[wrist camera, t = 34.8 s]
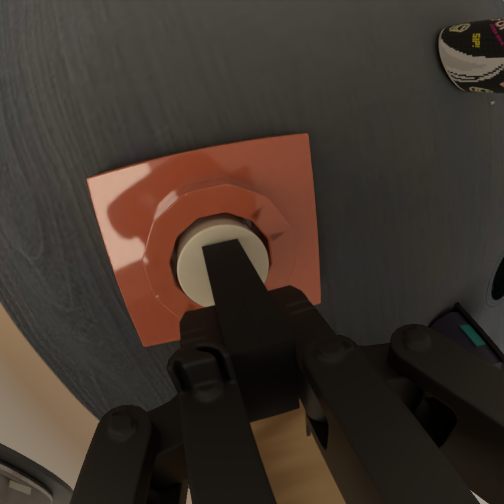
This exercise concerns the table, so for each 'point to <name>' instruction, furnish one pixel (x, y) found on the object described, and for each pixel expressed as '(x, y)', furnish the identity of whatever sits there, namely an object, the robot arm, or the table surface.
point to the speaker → (469, 335)
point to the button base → (201, 205)
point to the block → (294, 461)
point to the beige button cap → (208, 233)
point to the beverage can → (474, 55)
